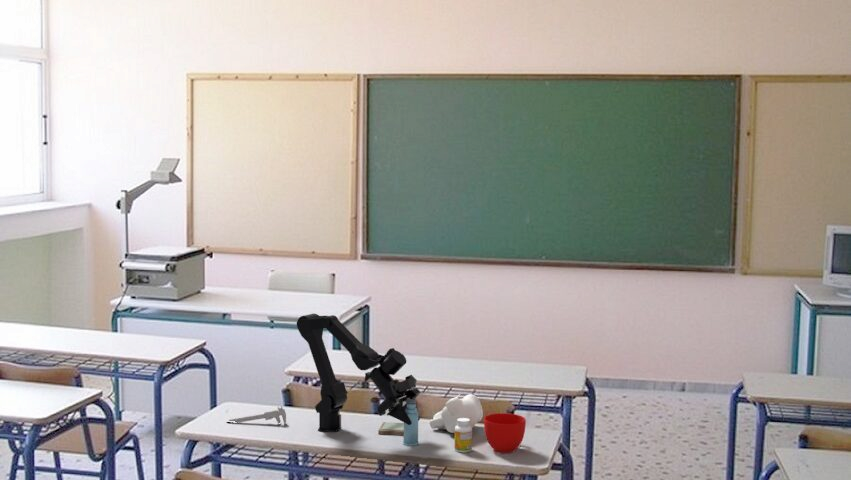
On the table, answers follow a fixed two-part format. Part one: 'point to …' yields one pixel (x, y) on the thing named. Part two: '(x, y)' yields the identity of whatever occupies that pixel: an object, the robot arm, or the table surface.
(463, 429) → the supplement bottle
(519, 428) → the ceramic cup
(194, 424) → the table surface
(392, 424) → the picture frame
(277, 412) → the caliper
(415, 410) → the water bottle
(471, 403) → the fox head
